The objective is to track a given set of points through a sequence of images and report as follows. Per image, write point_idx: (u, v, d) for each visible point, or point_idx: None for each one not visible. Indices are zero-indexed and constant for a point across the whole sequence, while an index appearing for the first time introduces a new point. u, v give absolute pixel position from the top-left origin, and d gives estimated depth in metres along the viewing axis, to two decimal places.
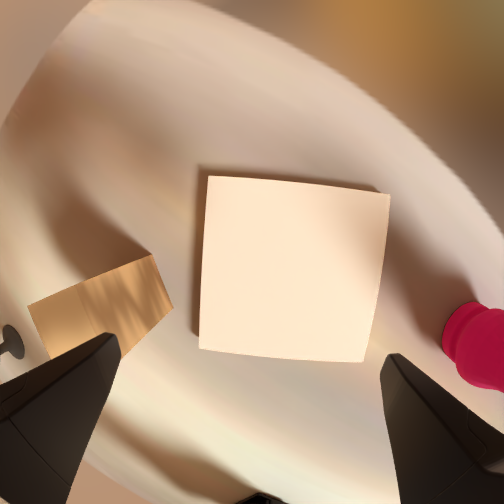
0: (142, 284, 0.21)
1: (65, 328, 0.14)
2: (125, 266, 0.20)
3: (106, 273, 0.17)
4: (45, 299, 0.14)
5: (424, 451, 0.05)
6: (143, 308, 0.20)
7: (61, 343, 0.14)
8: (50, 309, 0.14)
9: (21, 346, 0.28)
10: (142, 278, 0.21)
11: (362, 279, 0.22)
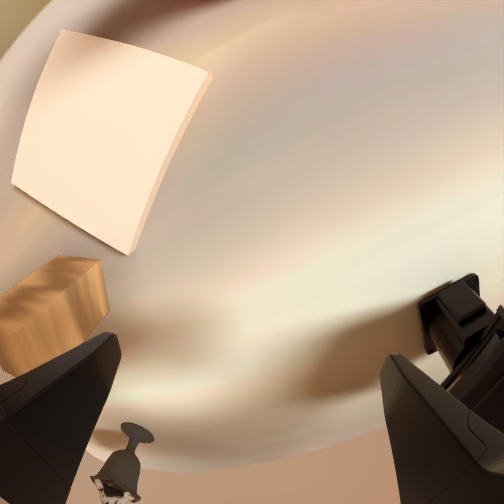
0: (49, 274, 0.20)
1: (3, 348, 0.14)
2: (26, 278, 0.18)
3: (6, 293, 0.16)
4: None
5: (424, 451, 0.05)
6: (53, 283, 0.18)
7: (15, 363, 0.14)
8: None
9: (138, 427, 0.32)
10: (48, 271, 0.20)
11: (110, 61, 0.15)
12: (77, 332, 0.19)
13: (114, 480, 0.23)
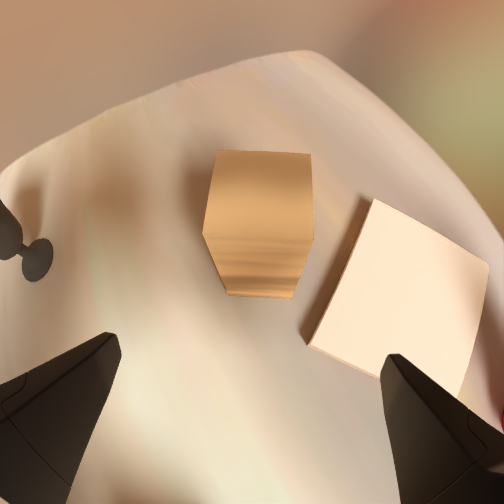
0: None
1: (268, 182, 0.14)
2: None
3: None
4: (256, 152, 0.15)
5: (424, 451, 0.05)
6: None
7: (246, 195, 0.14)
8: (257, 161, 0.15)
9: (46, 267, 0.25)
10: None
11: (466, 323, 0.20)
12: (237, 274, 0.18)
13: None
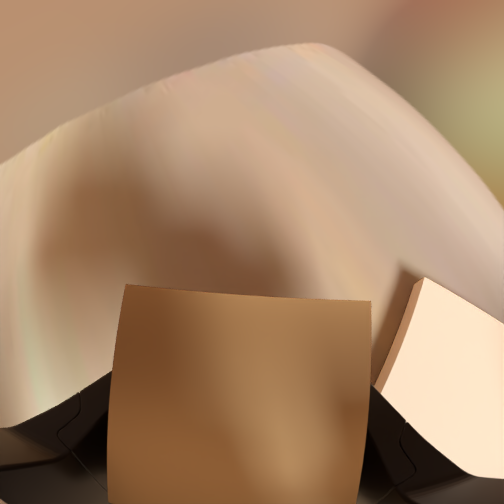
0: None
1: (253, 405, 0.05)
2: None
3: None
4: (225, 297, 0.06)
5: None
6: None
7: (196, 438, 0.05)
8: (225, 333, 0.05)
9: None
10: None
11: None
12: None
13: None
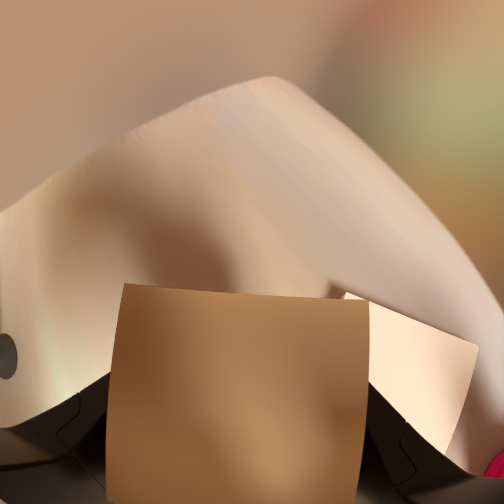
0: None
1: (252, 403, 0.05)
2: None
3: None
4: (223, 296, 0.06)
5: None
6: None
7: (194, 437, 0.05)
8: (223, 331, 0.05)
9: (13, 367, 0.20)
10: None
11: (446, 417, 0.17)
12: None
13: None
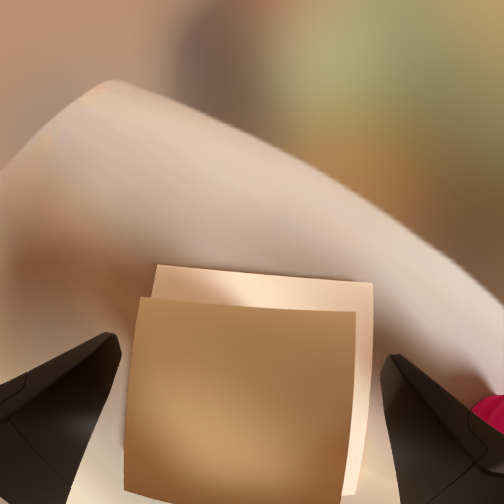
0: None
1: (253, 401, 0.06)
2: None
3: None
4: (228, 309, 0.06)
5: (424, 451, 0.05)
6: None
7: (203, 430, 0.05)
8: (229, 339, 0.06)
9: None
10: None
11: None
12: None
13: None
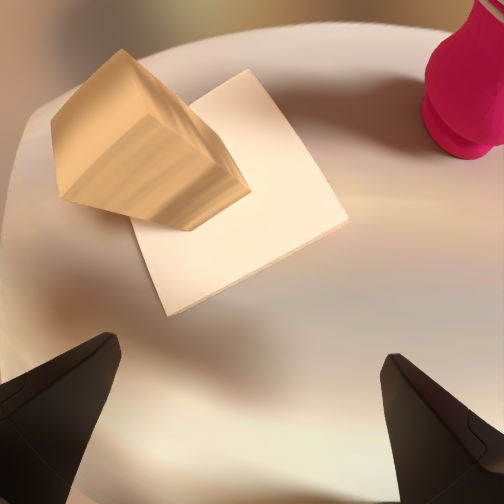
0: (208, 134, 0.16)
1: (92, 104, 0.10)
2: (186, 105, 0.15)
3: (162, 83, 0.13)
4: (77, 91, 0.10)
5: (424, 451, 0.05)
6: (209, 145, 0.15)
7: (79, 132, 0.10)
8: (79, 97, 0.10)
9: None
10: (207, 132, 0.17)
11: (272, 137, 0.19)
12: (158, 207, 0.15)
13: None
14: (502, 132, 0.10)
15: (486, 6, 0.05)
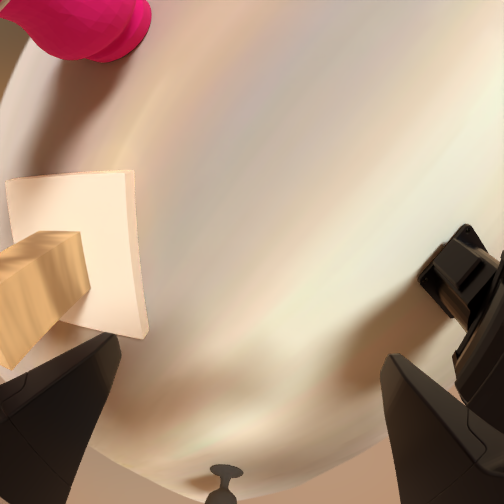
0: (25, 246, 0.17)
1: None
2: (2, 251, 0.16)
3: None
4: None
5: (424, 451, 0.05)
6: (27, 253, 0.16)
7: None
8: None
9: (224, 466, 0.34)
10: (25, 244, 0.17)
11: (52, 195, 0.19)
12: (51, 308, 0.17)
13: None
14: (113, 10, 0.11)
15: None
